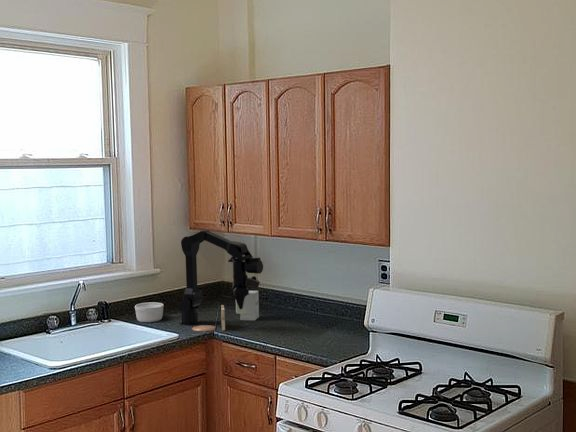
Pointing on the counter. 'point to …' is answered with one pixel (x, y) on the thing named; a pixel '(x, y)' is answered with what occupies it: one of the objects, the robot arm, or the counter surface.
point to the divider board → (223, 317)
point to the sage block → (241, 311)
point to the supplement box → (251, 306)
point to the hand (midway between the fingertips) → (240, 307)
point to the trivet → (203, 328)
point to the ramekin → (149, 311)
